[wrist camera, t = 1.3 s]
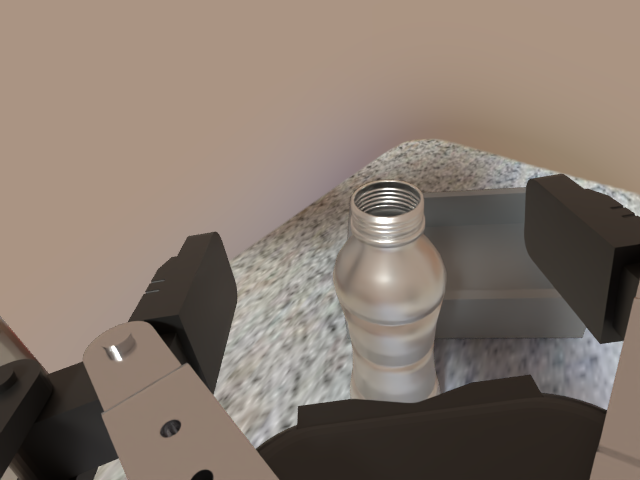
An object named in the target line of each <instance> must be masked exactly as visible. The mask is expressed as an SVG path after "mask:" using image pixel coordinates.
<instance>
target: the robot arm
mask: <svg viewBox="0 0 640 480" xmlns="http://www.w3.org/2000/svg"><path fill="white" fill-rule="evenodd" d="M524 240H525V246H526V249H527V252H528V254H529V256H530V258H531V259H532V261H533V262H534V263H535V264H536V265H537V267H538V268H539V269H540V270H541V272H542V273H543V274H544V275H545V277H546V278H547V279H548V280H549V281H550V283H551V284H552V285H553V286H554V288H555V289H556V290H557V291H558V293H559V294H560V295H561V296H562V298H563V299H564V300H565V301H566V302H567V304H568V305H569V306H570V307H571V309H572V310H573V311H574V312H575V314H576V315H577V316H578V317H579V318H580V320H581V321H582V322H583V323H584V325H585V326H586V327H587V328H588V330H589V331H590V332H591V333H592V334H593V336H594V337H595V338H596V339H597V341H598V342H599V343H600V344H603V343H611V342H618V341H624V342H623V347H622V351H621V355H620V359H619V363H618V368H617V372H616V376H615V380H614V384H613V389H612V393H611V397H610V401H609V405H608V410H605V409H603V408H600V407H598V406H596V405H593V404H590V403H587V402H584V401H581V400H577V399H573V398H570V397H566V396H560V395H554V394H547V393H541V392H540V391H539V389H538V387H537V385H536V384H535V382H534V380H533V378H532V376H531V375H525V376H517V377H510V378H503V379H495V380H488V381H480V382H473V383H469V384H467V385H464V386H461V387H459V388H456V389H453V390H450V391H448V392H445V393H442V394H439V395H437V396H434V397H431V398H429V399H426V400H423V401H420V402H416V403H403V402H390V401H377V400H364V399H348V400H340V401H333V402H325V403H318V404H311V405H303V406H298V423H297V425H296V426H293V427H291V428H288V429H286V430H284V431H282V432H280V433H278V434H276V435H275V436H273V437H272V438H270V439H269V440H267V441H265V442H264V443H263V444H261V445H260V446H259V447H258V448H256V449H255V448H254V447H253V446H252V444H251V443H250V442H249V440H248V439H247V438H246V437H245V435H244V434H243V433H242V431H241V430H240V429H239V428H238V426H237V425H236V424H235V423H234V421H233V420H232V419H231V417H230V416H229V415H228V414H227V412H226V411H225V410H224V408H223V407H222V406H221V405H220V403H219V402H218V401H217V400H216V398H215V397H214V396H213V394H214V391H215V387H216V383H217V379H218V375H219V371H220V367H221V363H222V359H223V355H224V351H225V347H226V344H227V340H228V336H229V332H230V328H231V324H232V320H233V316H234V312H235V308H236V304H237V287H236V282H235V279H234V276H233V273H232V270H231V267H230V264H229V261H228V258H227V255H226V252H225V249H224V246H223V243H222V240H221V237H220V236H219V234H218V233H217V232H211V233H205V234H200V235H194V236H189V237H187V239H186V241H185V243H184V244H183V246H182V248H181V250H180V252H179V254H178V256H177V257H171V258H170V259H169V260H168V261H167V262H166V263H165V264H164V265H162V267H160V268H159V269H158V270H157V272H156V274H155V276H154V277H153V279H152V281H151V284H149V286H148V288H147V290H146V291H145V292H146V294H144V295H143V297H142V299H141V300H140V302H139V304H138V305H137V307H136V309H135V310H134V312H133V314H132V316H131V317H130V319H129V321H128V322H127V323H124V324H121V325H118V326H115V327H113V328H111V329H109V330H107V331H106V332H104V333H103V334H101V335H100V336H98V337H97V338H96V339H95V340H94V341H93V342H92V343H91V344H90V345H89V346H88V347H87V349H86V350H85V352H84V355H83V362H81V363H78V364H75V365H72V366H70V367H67V368H64V369H62V370H59V371H56V372H53V373H50V374H49V373H48V372H47V371H46V370H45V369H44V367H43V366H42V365H41V364H40V363H39V362H38V360H37V359H36V358H35V357H34V356H33V354H32V353H31V352H30V351H29V350H28V348H27V347H26V346H25V345H24V344H23V342H22V341H21V340H20V339H19V338H18V337H17V335H16V334H15V333H14V332H13V331H12V330H11V328H10V327H9V326H8V325H7V323H6V322H5V321H4V320H3V319H2V317H1V316H0V480H93V479H94V477H95V474H96V472H97V469H98V467H99V466H101V465H104V464H106V463H108V462H111V461H113V460H116V459H118V458H119V460H120V462H121V464H122V467H123V469H124V472H125V474H126V476H127V479H128V480H640V217H639V216H635V214H634V213H633V212H632V211H630V210H629V209H627V208H626V207H625V208H623V205H621V204H620V203H619V202H617V201H616V200H614V199H613V198H611V197H610V196H608V195H605V194H602V193H599V192H596V191H593V190H590V189H583V188H582V187H581V186H579V185H578V184H577V183H575V182H574V181H573V180H571V179H570V178H568V177H567V176H566V175H564V174H557V175H551V176H545V177H539V178H533V179H530V180H529V181H528V183H527V186H526V198H525V223H524Z"/></svg>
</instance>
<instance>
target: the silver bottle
mask: <svg viewBox="0 0 640 480" xmlns="http://www.w3.org/2000/svg"><path fill="white" fill-rule="evenodd" d="M351 211H352V216H351V220H350V222H351V231H352V233H353V235H352V236H351V237H350V238H349V239H348V240H347V242H346V243H345V244H344V246H343V247H342V249H341V250H340V252H339V253H338V255H337V258H336V262H335V267H334V271H333V282H334V286H335V290H336V294H337V296H338V299H339V302H340V304H341V307H342V310H343V313H344V315H345V318H346V321H347V325H348V329H349V334H350V338H351V343H352V348H353V369H352V374H351V382H350V397H351V399H364V400H377V401H390V402H403V403H416V402H420V401H423V400H426V399H429V398H431V397H434V396H437V395H439V394H441V393H440V387H439V381H438V378H437V374H436V371H435V363H434V352H433V348H434V339H435V331H436V323H437V319H438V316H439V312H440V308H441V304H442V301H443V298H444V294H445V289H446V282H447V272H446V269H445V266H444V264H443V261H442V258H441V255H440V253H439V252H438V250H437V249H436V248H435V246H434V245H433V244H432V243H431V241H430V240H429V239H428V238H427V237H426V236H425V235H424V234H423V232H424V229H425V216H424V198H423V194H422V192H421V191H420V189H419V188H417V187H416V186H415V185H413V184H411V183H408V182H405V181H400V180H377V181H373V182H370V183H367V184H365V185H362V186H361V187H359V188H358V189H357V190H356V191H355V192H354V193H353V195H352V198H351Z"/></svg>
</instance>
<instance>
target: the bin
mask: <svg viewBox="0 0 640 480" xmlns="http://www.w3.org/2000/svg"><path fill="white" fill-rule="evenodd" d="M422 194H423V198H424V216H425V229H424V232H423V234H424V235H425V236H426V237H427V238H428V239H429V240H430V241H431V243H432V244H433V245H434V246H435V248H436V249H437V250H438V252H439V253H440V255H441V258H442V261H443V264H444V266H445V269H446V272H447V282H446V289H445V294H444V298H443V301H442V304H441V308H440V312H439V316H438V319H437V323H436V331H435V339H453V338H582V337H583V334H584V332H585V329H586V326H585V325H584V323H583V322H582V321H581V320H580V318H579V317H578V316H577V315H576V314H575V312H574V311H573V310H572V309H571V307H570V306H569V305H568V304H567V302H566V301H565V300H564V299H563V298H562V296H561V295H560V294H559V293H558V291H557V290H556V289H555V288H554V286H553V285H552V284H551V283H550V281H549V280H548V279H547V278H546V277H545V275H544V274H543V273H542V272H541V270H540V269H539V268H538V267H537V265H536V264H535V263H534V262H533V261H532V259H531V258H530V256H529V254H528V252H527V249H526V246H525V240H524V223H525V198H526V187H524V188H504V189H485V190H466V191H447V192H428V193H422ZM351 198H352V196H351V197H350V208H349V222H348V237H347V240H348V239H349V238H350V237H351V236H352V235H353V233H352V231H351V222H350V220H351V216H352V211H351ZM345 321H346V318H345ZM346 329H347V336H348V339H351V338H350V334H349V329H348V325H347V321H346Z"/></svg>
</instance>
